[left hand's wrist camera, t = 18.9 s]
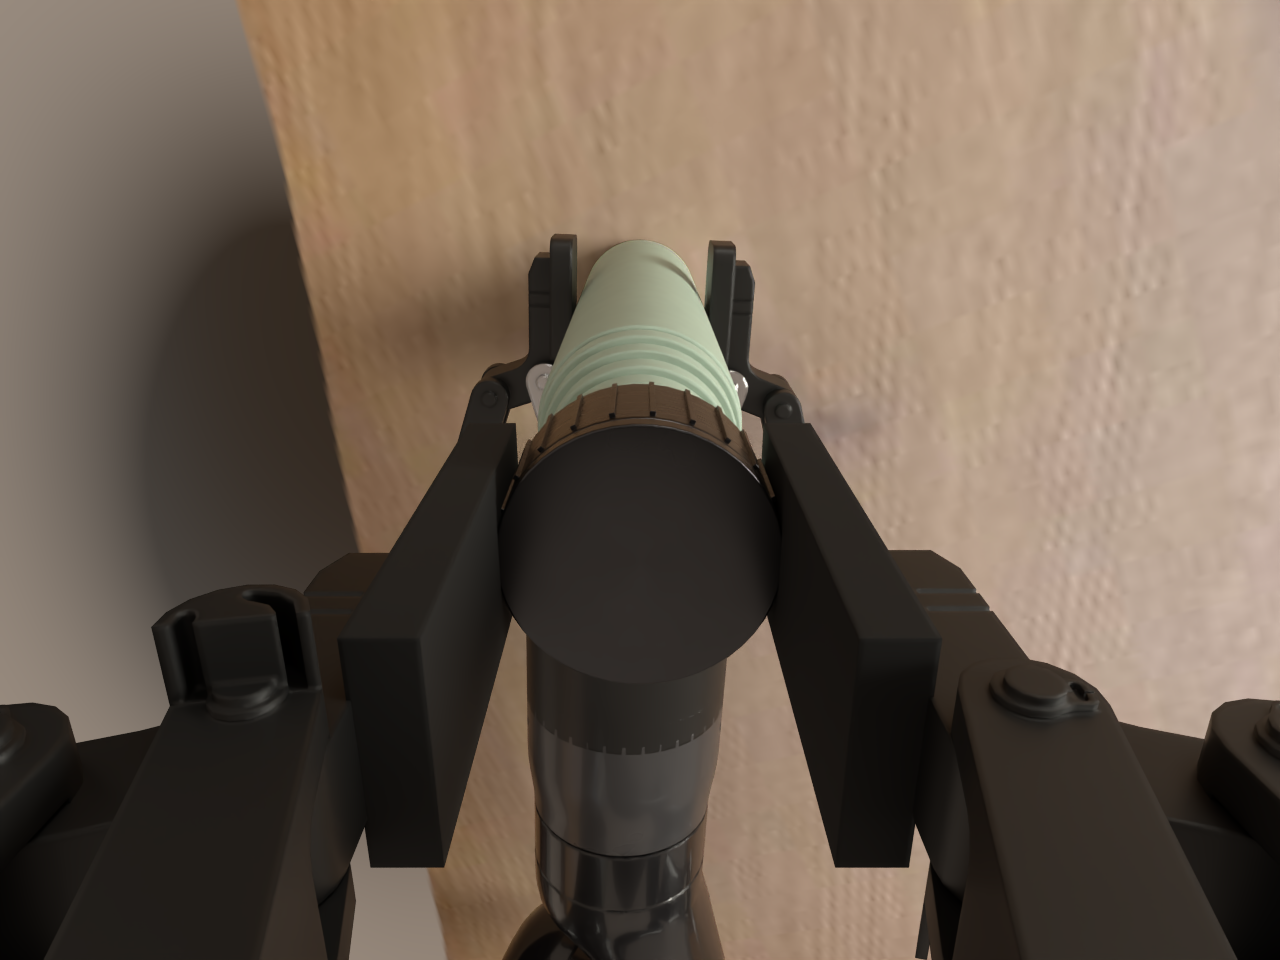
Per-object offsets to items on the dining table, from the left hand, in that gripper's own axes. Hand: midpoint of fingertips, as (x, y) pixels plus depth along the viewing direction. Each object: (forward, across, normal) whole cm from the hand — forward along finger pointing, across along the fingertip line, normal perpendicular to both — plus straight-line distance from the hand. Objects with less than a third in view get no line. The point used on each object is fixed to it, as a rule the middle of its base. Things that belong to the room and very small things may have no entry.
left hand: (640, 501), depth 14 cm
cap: (-2, 0, 0) cm, 2 cm away
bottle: (+21, 0, 0) cm, 21 cm away
